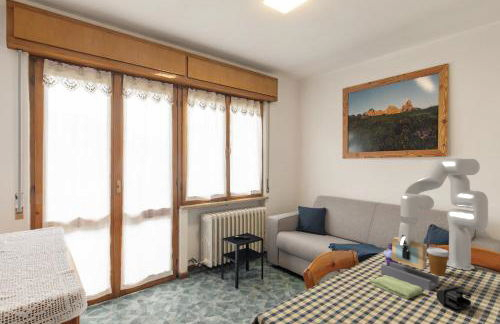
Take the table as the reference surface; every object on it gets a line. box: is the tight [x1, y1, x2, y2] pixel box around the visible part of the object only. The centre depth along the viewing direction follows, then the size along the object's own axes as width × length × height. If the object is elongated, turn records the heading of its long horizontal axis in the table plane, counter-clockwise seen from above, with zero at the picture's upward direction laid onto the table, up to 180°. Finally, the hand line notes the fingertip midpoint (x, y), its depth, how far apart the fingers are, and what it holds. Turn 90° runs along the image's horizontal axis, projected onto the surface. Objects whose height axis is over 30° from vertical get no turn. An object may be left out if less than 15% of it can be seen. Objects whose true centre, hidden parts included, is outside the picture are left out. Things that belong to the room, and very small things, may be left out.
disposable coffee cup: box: [427, 246, 449, 276], centre depth 136 cm, size 10×10×12 cm
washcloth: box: [370, 275, 424, 300], centre depth 118 cm, size 13×18×3 cm
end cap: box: [435, 285, 472, 313], centre depth 104 cm, size 10×7×7 cm
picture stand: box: [380, 262, 440, 292], centre depth 128 cm, size 10×22×4 cm, turn 33°
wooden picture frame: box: [391, 236, 428, 270], centre depth 128 cm, size 4×14×11 cm, turn 33°
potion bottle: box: [383, 242, 400, 267], centre depth 146 cm, size 9×9×12 cm
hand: (408, 257), depth 128 cm, fingers closed on wooden picture frame, 4 cm apart
